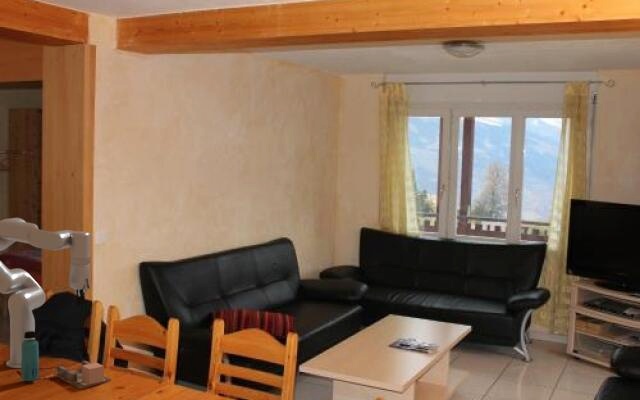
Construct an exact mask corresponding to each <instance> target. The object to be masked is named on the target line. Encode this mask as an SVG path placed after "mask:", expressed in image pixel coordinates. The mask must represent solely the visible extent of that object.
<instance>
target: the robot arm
mask: <svg viewBox="0 0 640 400" xmlns="http://www.w3.org/2000/svg"><path fill="white" fill-rule="evenodd" d="M15 242H18V243H24V244H29V245H30V246H33V247H35V248H37V249H42V250H47V251H48V250H49V251H60V250H64V249H69V248H70V267H69V277H68V279H69V280H68V283H69V284H68V286H69V287H70V288H71V289H73V290H74V294H75V305H76V306H78V307H79V306H84V305H85V303H86V299H85V298H86V294H87V293H89V292H88V291H89V289H90V288H91V270H90V269H91V268H90V265H91V233H90V232H89V231H88V232H87V231H83V230H81V231H77V230H76V231H75V230H71V229H63V230H58V231H48V230H42V229H39V226H38V225H37V224H35V223H32V222H28V221H25V220H24V219H22V218H20V217H13V218H11V217H10V218H4V219H2V220H0V252H2V251H4V250H6V249H7V248H9V247H10V246H11V245H13V244H14V243H15ZM0 293H1V294H5V295H6V294H11V293H12V294H11V295H10V296H9V298H8V300H7V308H8V312H9V324H10V325H9V329H10V330H9V331H10V333H9V334H10V336H9V337H10V338H9V339H10V340H9V341H10V342H9V343H10V344H9V346H10V349H9V351H10V352H9V353H10V354H9V355H10V356H9V358H10V359H8V360H6V362H5V364H6V367H7V368H12V369H21V361H22V345H21V344H22V343H23V342H24V341H25V340H28V339H27V338H24V335H25V332H28V331H34V332H35V333H36V330H35V329H36V321H35V316H34V313H33V310H35V309H38V308H40V307H42V306H43V304H45V302H46V297H47V296H46V293H45V291H44V289H43V288H42V287H41V286H40V284H39V283H38V282H37V281H36V280H35V278H33V276H31V274H30V273H29V272H27V271H26V270H24V269H22V268H12V269H9V267H7V266H6V265H5V263H3V261H1V260H0ZM30 339H35V340H36V337H35V338H30Z"/></svg>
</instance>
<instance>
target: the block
mask: <svg viewBox="0 0 640 400" xmlns="http://www.w3.org/2000/svg"><path fill="white" fill-rule="evenodd" d="M81 368H82V381H84V382H86V383H87V384H93V383H98V382H102V381H104V376H105V374H104V373H105V371H104V370H105V366H104V365H103V364H100V363H98V362H93V363H92V364H87V365H82V364H81Z"/></svg>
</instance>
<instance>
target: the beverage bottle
mask: <svg viewBox="0 0 640 400" xmlns="http://www.w3.org/2000/svg"><path fill="white" fill-rule="evenodd" d="M36 337H37V336H36V331H35V332H34V331H28V332H25V335H24V338H27V339H28V340H25V341H24V342H23V343H22V344H21V345H22V361H21V368H20V369H21V370H20V371H21V372H20V374H21V375H20V377H21V380H22V381H24V382H25V381H26V382H31V381H35V380H38V379H39V377H40V374H39V373H40V363H39V361H40V360H39V358H40V356H39V355H40V354H39V353H40V352H39V351H40V350H39V344H40V343H39V341H38V340H36ZM30 338H35V339H30Z"/></svg>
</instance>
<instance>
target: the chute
mask: <svg viewBox="0 0 640 400" xmlns="http://www.w3.org/2000/svg"><path fill="white" fill-rule="evenodd" d="M87 364H92V363H91V362H89V361H87V360H81V366H82V365H87ZM55 376H56V377H57V378H59V379H60V380H62V381H64V382H66V383H67V384H69V383H70V384H69V385H72V386H73V387H75V388H77V389H78V390H83V389H87V388H90V386H91V387H94V385H95V386H98V385H97V384H99V385H102V384H101V383H103V384H106V383H105V382H107V383H109V382H108V381H112V380H111V378H109V377H107V376H105V375H104V381H102V382H98V383H93V384H87V383H86V382H84V381H82V367H81V368H78V369H77V368H76V369H73V370H70V369H68V368H66V367H64V366H63V365H57V367H56V374H55Z"/></svg>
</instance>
